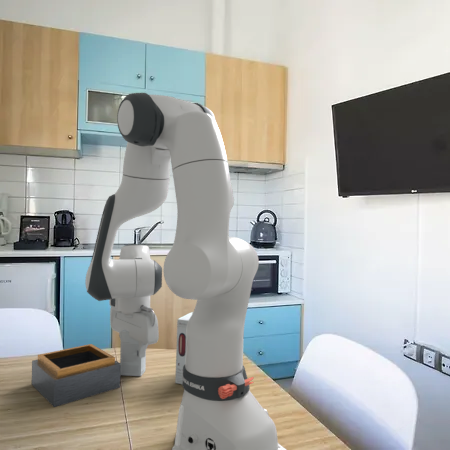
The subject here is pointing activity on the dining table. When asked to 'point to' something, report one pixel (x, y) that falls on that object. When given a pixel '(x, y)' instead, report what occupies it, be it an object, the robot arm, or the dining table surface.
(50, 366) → the grey open box
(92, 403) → the dining table surface
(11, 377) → the dining table surface
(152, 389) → the dining table surface
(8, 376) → the dining table surface
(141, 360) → the skincare box
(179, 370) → the supplement box
